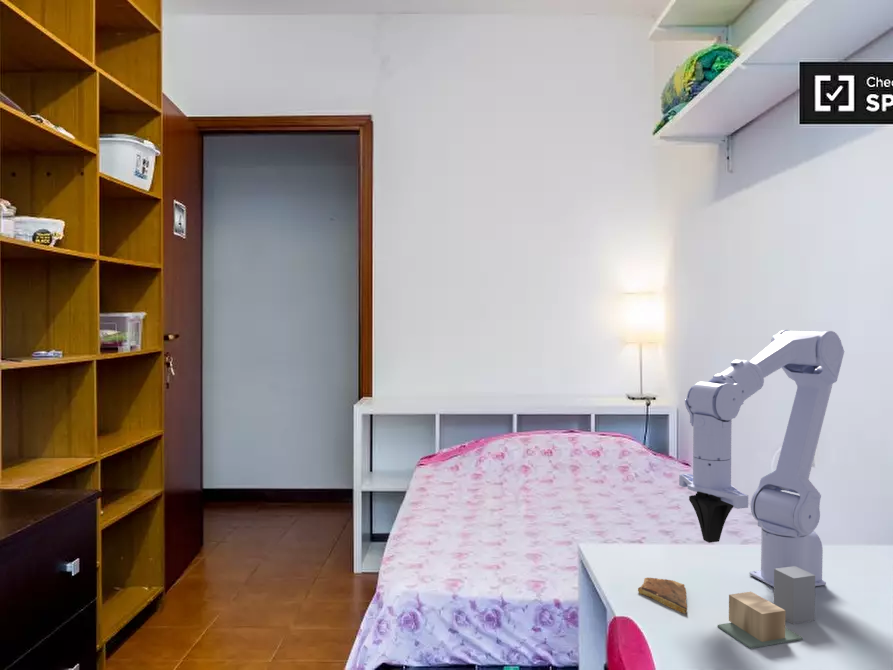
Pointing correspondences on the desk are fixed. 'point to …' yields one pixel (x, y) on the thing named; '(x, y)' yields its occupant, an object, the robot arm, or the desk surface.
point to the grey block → (795, 593)
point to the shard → (665, 592)
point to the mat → (754, 642)
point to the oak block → (757, 616)
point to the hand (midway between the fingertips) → (711, 540)
